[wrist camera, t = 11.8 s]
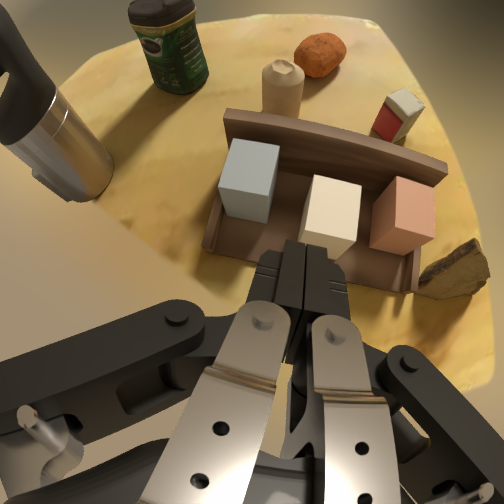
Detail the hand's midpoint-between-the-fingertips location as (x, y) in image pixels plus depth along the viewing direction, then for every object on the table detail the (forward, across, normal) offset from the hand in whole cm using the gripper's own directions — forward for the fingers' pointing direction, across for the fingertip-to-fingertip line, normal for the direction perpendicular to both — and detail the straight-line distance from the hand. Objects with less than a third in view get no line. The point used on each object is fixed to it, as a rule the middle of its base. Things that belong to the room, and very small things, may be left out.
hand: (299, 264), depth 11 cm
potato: (+47, 0, -12) cm, 48 cm away
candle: (+37, +4, -2) cm, 37 cm away
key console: (+25, -4, +9) cm, 27 cm away
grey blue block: (+26, +5, +8) cm, 27 cm away
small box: (+38, -13, -4) cm, 40 cm away
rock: (+22, -24, +12) cm, 35 cm away
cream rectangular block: (+24, -4, +10) cm, 26 cm away
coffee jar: (+41, +23, -6) cm, 47 cm away
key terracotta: (+26, -13, +8) cm, 30 cm away
